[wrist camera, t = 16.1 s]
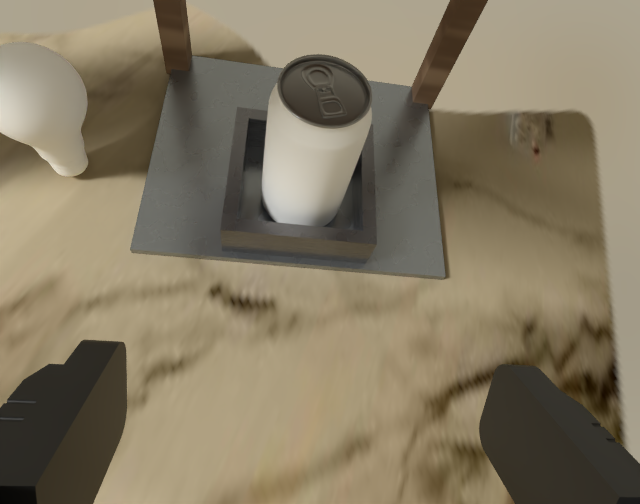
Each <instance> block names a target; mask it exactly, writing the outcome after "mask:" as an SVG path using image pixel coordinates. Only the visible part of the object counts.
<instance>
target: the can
mask: <svg viewBox="0 0 640 504" xmlns="http://www.w3.org/2000/svg"><path fill="white" fill-rule="evenodd" d="M371 104H372V90H371V87H370V84H369V82H368V81H367V79H366V78H365V76H364V75H363V74H362V73H361V72H360V71H359V70H358V69H357V68H356V67H354V66H353V65H351V64H350V63H348V62H346V61H344V60H342V59H339V58H336V57H333V56H328V55H307V56H303V57H300V58H297V59H295V60H293V61H291V62H290V63H288V64H287V65H286V67H284V68H283V70H282V71H281V73H280V75H279V78H278V82H277V84H276V85H275V87H274V88H273V90H272V92H271V95H270V99H269V105H268V114H267V124H266V136H265V148H264V160H263V173H262V187H261V197H262V203H263V206H264V208H265V210H266V211H267V213H268V214H269V215H270V217H271V218H272V219H273V220H275V221H276V222H278V223H288V224H298V225H308V226H318V227H323V226H325V225H327V224H328V223H329V222H330V221H331V220H332V219H333V218H334V217H335V216H336V214H337V212H338V210H339V208H340V205H341V203H342V200H343V198H344V195H345V193H346V190H347V188H348V185H349V182H350V180H351V177H352V175H353V172H354V169H355V167H356V164H357V162H358V159H359V156H360V154H361V151H362V148H363V146H364V143H365V140H366V138H367V135H368V132H369V129H370V126H371V121H372V109H371Z"/></svg>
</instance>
